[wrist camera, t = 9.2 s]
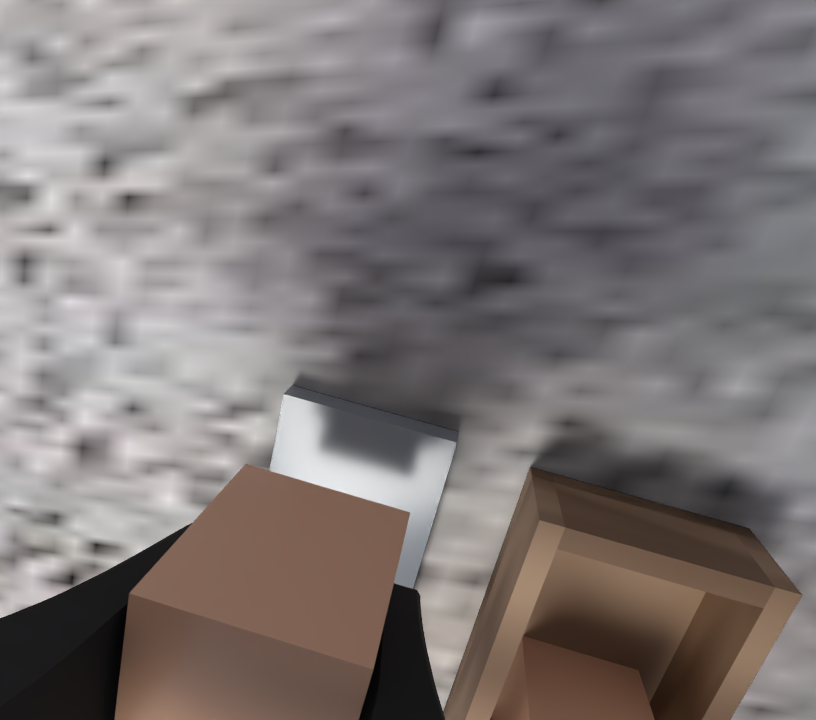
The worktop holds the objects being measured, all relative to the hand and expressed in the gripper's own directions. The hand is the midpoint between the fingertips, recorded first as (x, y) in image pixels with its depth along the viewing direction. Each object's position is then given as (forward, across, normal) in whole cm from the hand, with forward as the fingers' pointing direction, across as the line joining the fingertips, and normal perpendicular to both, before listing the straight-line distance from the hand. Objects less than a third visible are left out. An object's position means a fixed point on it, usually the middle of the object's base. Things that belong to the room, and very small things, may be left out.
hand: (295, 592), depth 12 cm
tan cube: (+1, 0, 0) cm, 1 cm away
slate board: (+6, 0, +4) cm, 7 cm away
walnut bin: (+6, -9, +4) cm, 12 cm away
